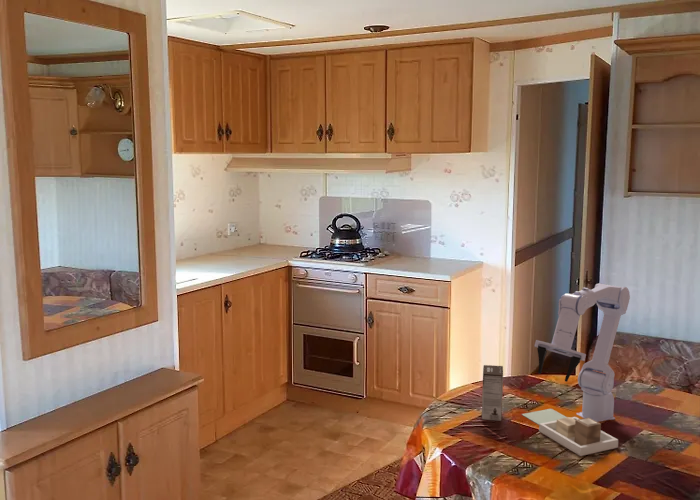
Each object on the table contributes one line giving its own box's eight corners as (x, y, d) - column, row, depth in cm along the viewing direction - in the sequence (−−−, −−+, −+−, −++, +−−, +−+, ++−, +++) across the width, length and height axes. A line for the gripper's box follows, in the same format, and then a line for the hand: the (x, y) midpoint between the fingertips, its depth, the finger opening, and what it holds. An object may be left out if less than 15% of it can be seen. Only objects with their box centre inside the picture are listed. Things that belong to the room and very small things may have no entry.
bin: (574, 425, 209) (575, 416, 208) (617, 449, 192) (618, 439, 192) (538, 432, 203) (539, 423, 203) (580, 457, 187) (580, 448, 187)
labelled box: (587, 439, 197) (588, 417, 196) (599, 446, 193) (601, 423, 192) (574, 442, 195) (575, 419, 194) (586, 449, 191) (587, 426, 190)
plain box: (569, 429, 205) (569, 417, 204) (580, 435, 200) (581, 423, 199) (556, 431, 203) (556, 419, 202) (567, 438, 198) (568, 425, 198)
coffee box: (481, 410, 221) (483, 364, 219) (501, 411, 220) (502, 365, 217) (481, 421, 212) (483, 373, 210) (501, 422, 211) (503, 374, 209)
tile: (550, 410, 221) (551, 408, 220) (576, 424, 210) (576, 422, 209) (521, 416, 216) (521, 414, 216) (545, 430, 205) (545, 428, 205)
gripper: (539, 324, 194) (526, 368, 192) (589, 338, 189) (577, 384, 187) (540, 327, 201) (528, 370, 199) (589, 341, 195) (578, 385, 193)
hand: (552, 377), depth 193 cm, fingers open, 7 cm apart
